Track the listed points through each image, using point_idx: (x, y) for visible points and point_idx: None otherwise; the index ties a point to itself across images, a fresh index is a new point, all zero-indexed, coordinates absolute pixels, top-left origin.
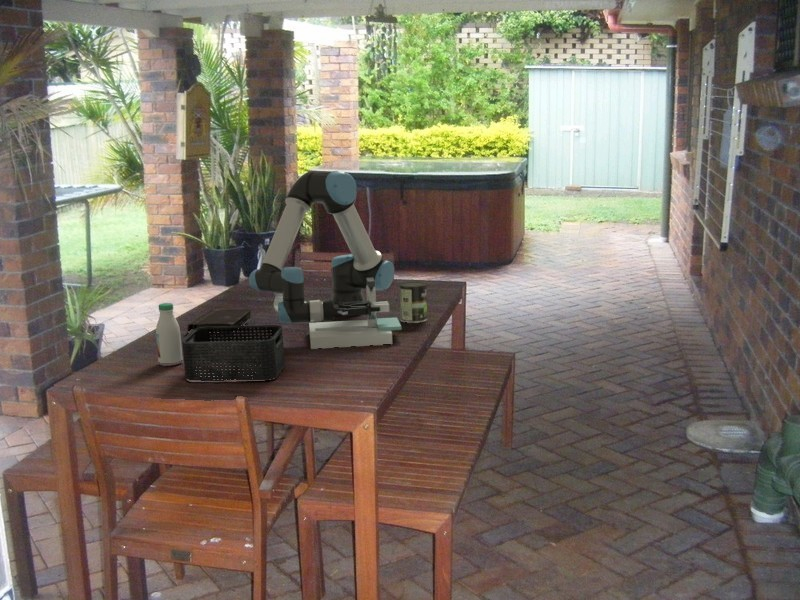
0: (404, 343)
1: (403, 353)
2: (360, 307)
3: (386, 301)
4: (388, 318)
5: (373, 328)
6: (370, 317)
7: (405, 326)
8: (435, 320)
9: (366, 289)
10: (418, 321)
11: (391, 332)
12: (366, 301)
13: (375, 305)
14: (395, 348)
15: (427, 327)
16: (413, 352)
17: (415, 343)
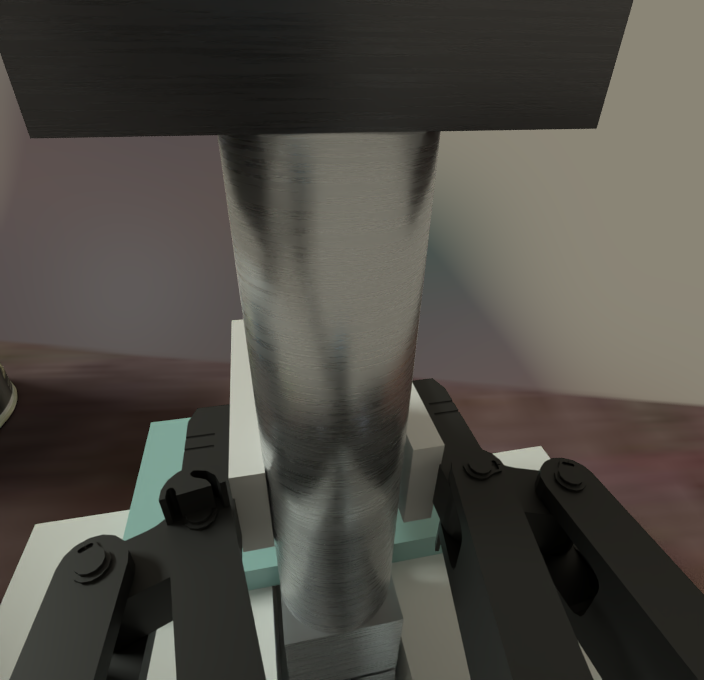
0: (479, 442)
1: (682, 436)
2: (559, 617)
3: (235, 326)
4: (163, 473)
5: (417, 600)
6: (390, 572)
7: (58, 459)
8: (16, 350)
9: (353, 255)
10: (11, 398)
11: (524, 449)
12: (92, 541)
13: (418, 403)
14: (605, 477)
15: (146, 371)
16: (635, 401)
17: (467, 400)
